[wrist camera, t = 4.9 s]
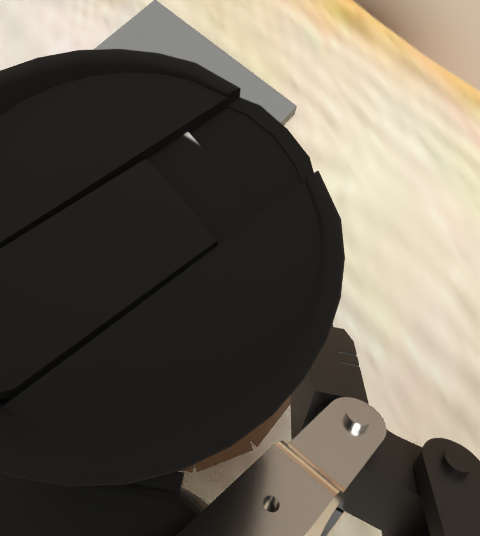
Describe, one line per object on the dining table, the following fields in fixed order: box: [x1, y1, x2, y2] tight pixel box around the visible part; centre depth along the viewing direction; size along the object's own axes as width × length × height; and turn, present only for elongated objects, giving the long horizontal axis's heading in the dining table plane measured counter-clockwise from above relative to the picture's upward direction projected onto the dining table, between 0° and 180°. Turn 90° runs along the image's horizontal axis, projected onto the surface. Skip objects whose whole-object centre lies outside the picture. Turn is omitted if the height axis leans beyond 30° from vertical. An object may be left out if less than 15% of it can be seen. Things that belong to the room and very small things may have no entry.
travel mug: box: [0, 49, 345, 486], centre depth 14 cm, size 6×7×20 cm
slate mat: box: [94, 0, 297, 125], centre depth 28 cm, size 13×13×1 cm
